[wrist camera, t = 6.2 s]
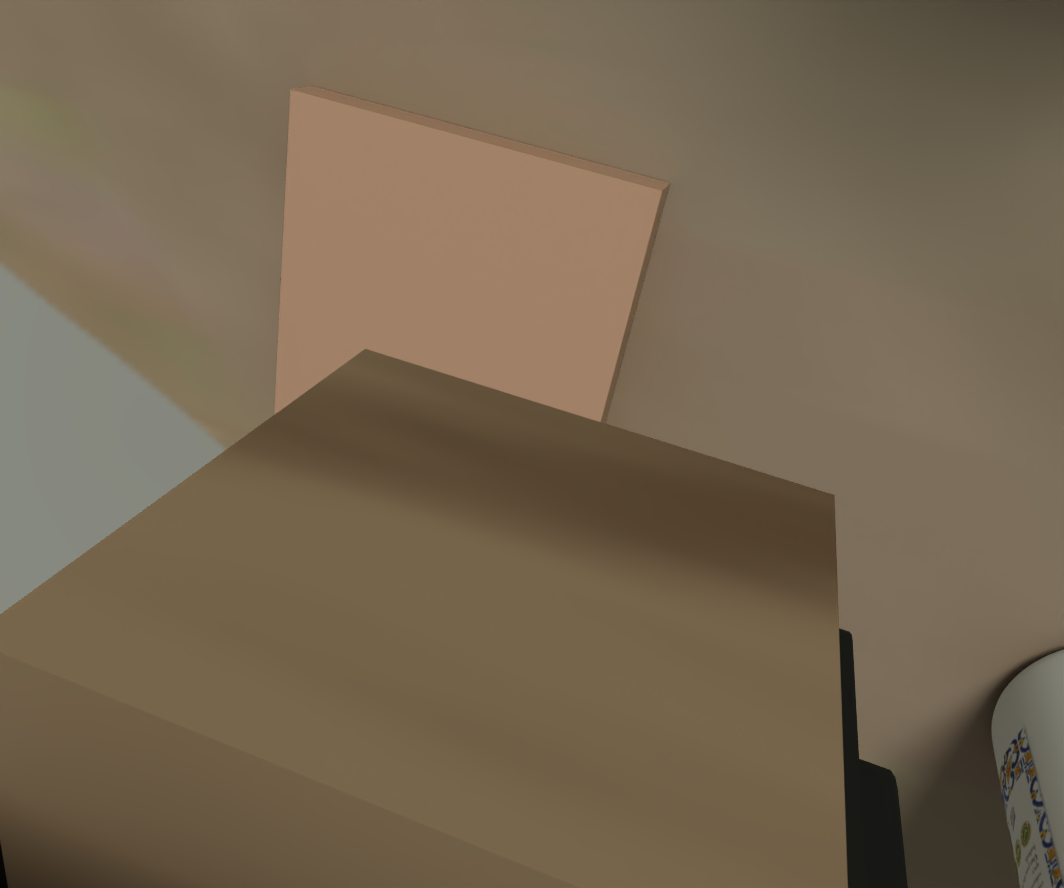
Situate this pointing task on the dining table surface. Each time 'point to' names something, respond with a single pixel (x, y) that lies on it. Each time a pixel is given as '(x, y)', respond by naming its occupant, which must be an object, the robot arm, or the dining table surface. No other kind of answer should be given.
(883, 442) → the dining table surface
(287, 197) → the terracotta tile
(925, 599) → the dining table surface
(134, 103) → the dining table surface
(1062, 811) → the bath foam
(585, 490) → the walnut cube
